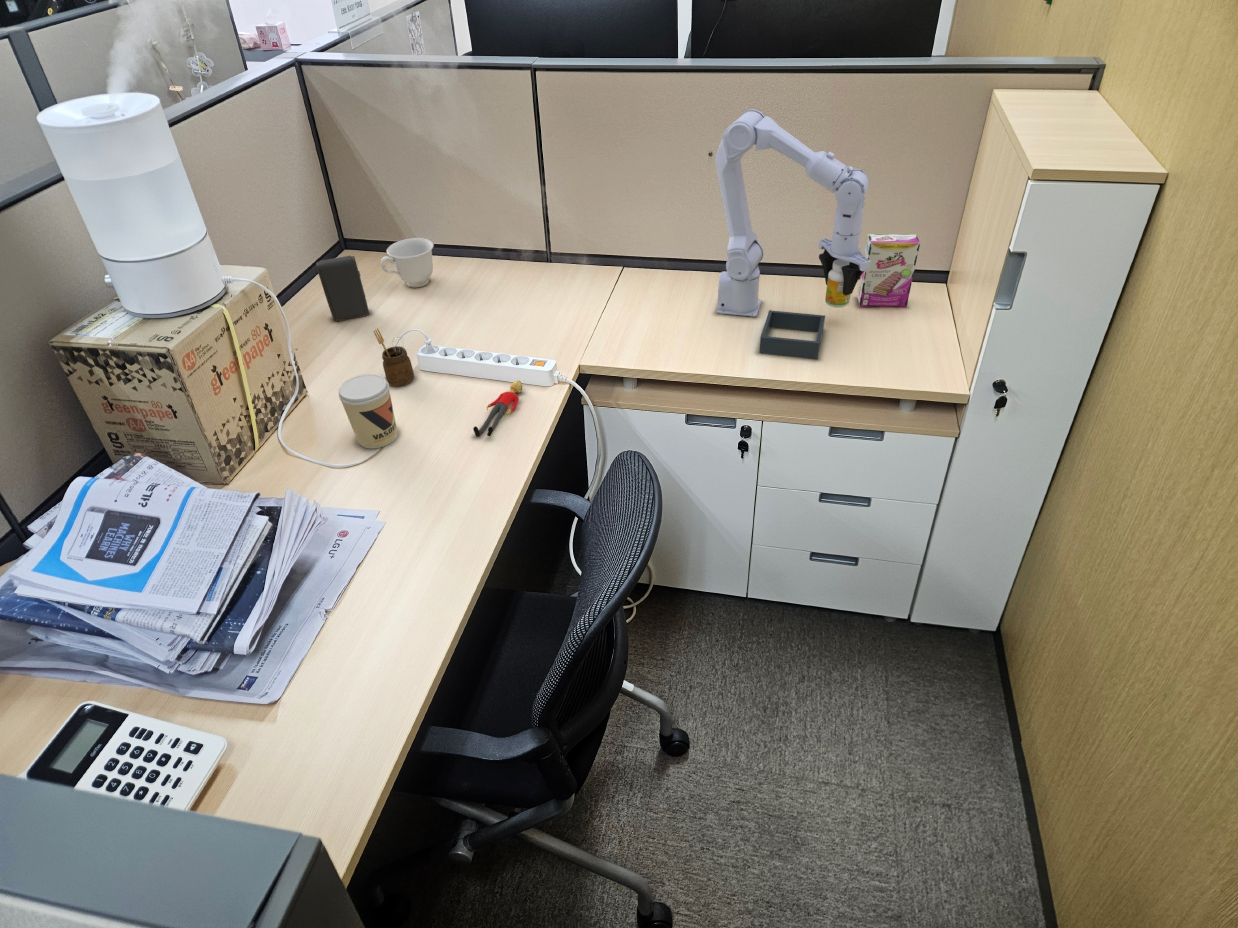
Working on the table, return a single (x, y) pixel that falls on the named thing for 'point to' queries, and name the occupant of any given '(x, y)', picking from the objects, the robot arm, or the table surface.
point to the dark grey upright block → (343, 287)
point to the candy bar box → (888, 270)
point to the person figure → (500, 408)
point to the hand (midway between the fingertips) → (839, 289)
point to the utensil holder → (396, 363)
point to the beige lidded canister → (369, 409)
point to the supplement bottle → (836, 286)
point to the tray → (792, 345)
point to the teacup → (411, 260)
